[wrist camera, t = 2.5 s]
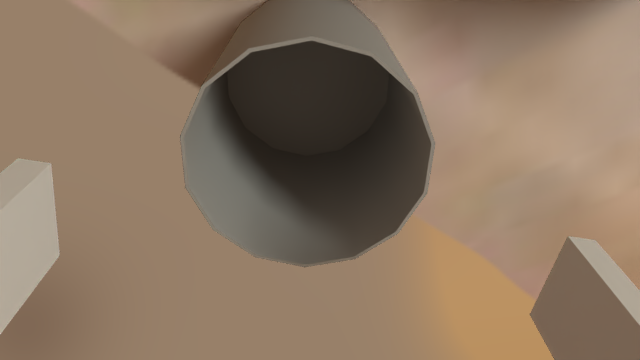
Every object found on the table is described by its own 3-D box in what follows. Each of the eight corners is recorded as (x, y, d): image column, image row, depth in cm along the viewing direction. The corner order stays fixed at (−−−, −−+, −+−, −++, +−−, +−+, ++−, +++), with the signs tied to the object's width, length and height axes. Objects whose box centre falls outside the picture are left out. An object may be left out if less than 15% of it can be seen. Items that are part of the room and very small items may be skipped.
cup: (222, -14, 23) (168, 30, 14) (397, -7, 23) (452, 41, 14) (231, 150, 27) (193, 265, 18) (380, 154, 27) (414, 269, 18)
